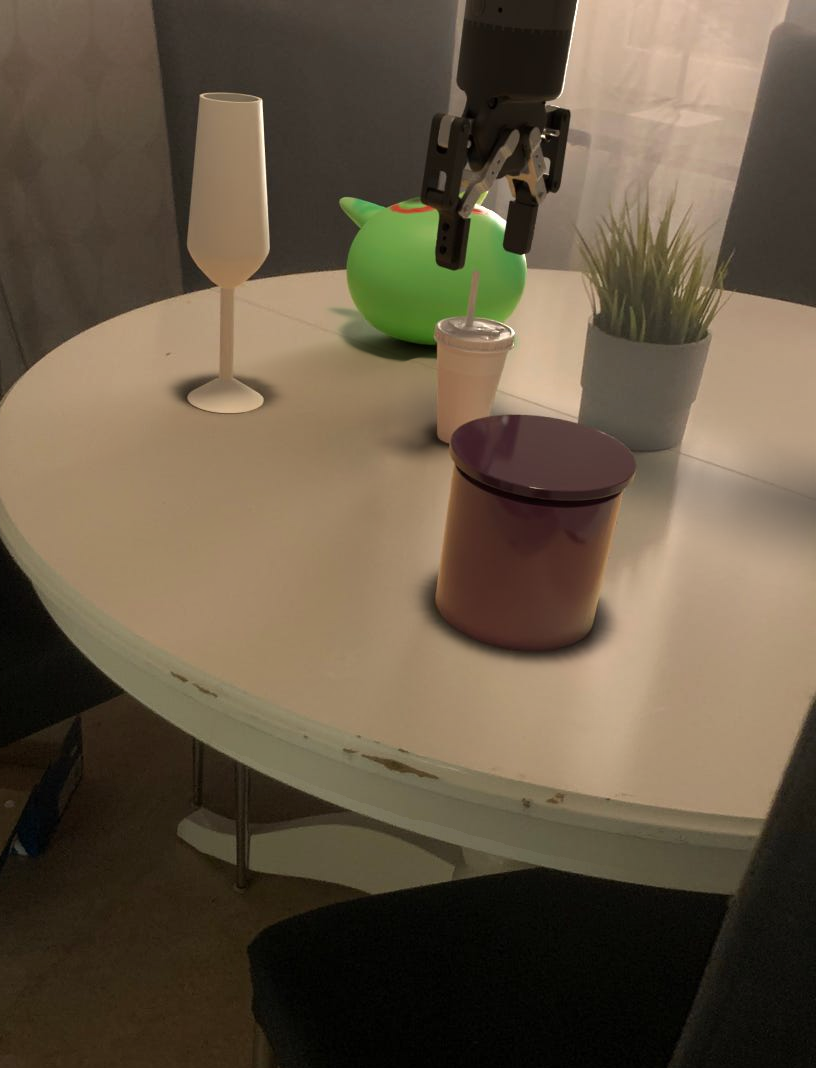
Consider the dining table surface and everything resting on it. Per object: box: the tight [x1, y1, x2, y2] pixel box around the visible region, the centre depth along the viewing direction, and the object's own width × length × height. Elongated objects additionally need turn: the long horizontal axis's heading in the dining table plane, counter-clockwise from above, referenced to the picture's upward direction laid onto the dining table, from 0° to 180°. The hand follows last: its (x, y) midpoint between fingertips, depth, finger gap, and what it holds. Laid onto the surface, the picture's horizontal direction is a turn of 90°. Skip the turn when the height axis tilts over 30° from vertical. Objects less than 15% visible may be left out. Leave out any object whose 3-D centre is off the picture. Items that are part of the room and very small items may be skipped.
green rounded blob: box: [338, 190, 528, 346], centre depth 112 cm, size 18×17×15 cm
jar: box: [434, 414, 638, 651], centre depth 68 cm, size 11×11×11 cm
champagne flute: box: [186, 92, 271, 414], centre depth 91 cm, size 7×7×24 cm
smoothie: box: [434, 271, 516, 445], centre depth 89 cm, size 6×6×14 cm
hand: (483, 259), depth 85 cm, fingers open, 8 cm apart
